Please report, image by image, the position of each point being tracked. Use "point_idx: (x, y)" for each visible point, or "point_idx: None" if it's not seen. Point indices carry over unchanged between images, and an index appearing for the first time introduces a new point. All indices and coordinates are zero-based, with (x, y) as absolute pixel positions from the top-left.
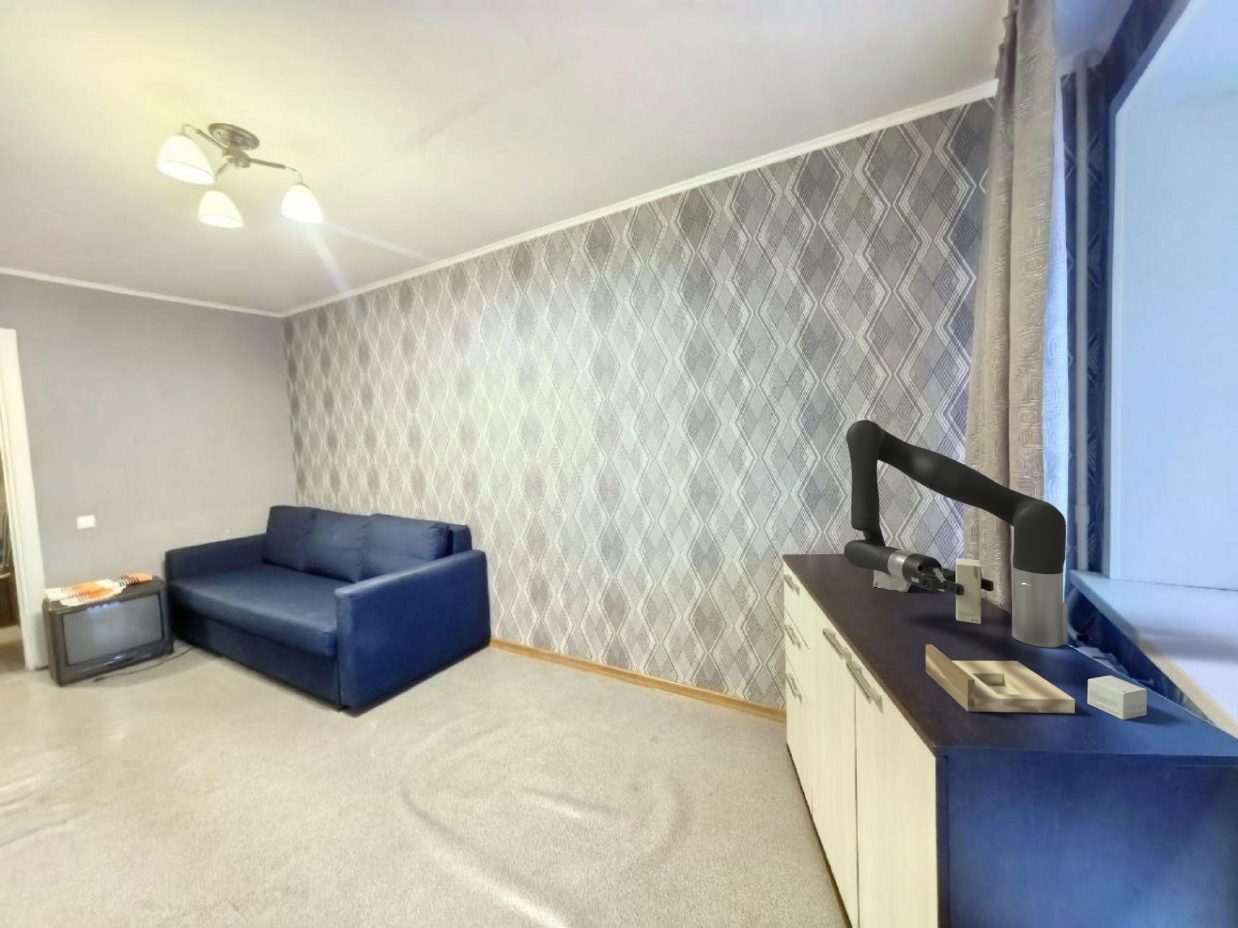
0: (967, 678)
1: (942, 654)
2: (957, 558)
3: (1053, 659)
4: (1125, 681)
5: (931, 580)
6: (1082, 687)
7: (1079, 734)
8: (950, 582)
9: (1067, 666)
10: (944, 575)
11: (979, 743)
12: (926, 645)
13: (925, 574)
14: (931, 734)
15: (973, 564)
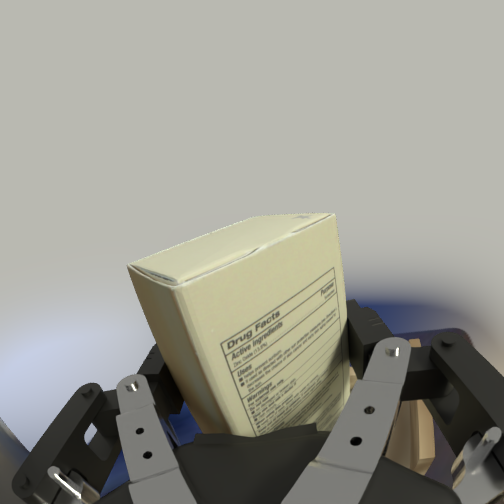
0: (418, 340)
1: (420, 412)
2: (191, 271)
3: (110, 473)
4: None
5: (458, 337)
6: (185, 417)
7: None
8: (370, 324)
9: (123, 455)
10: (305, 435)
11: (428, 332)
12: (434, 453)
13: (441, 485)
14: (468, 335)
15: (258, 219)
